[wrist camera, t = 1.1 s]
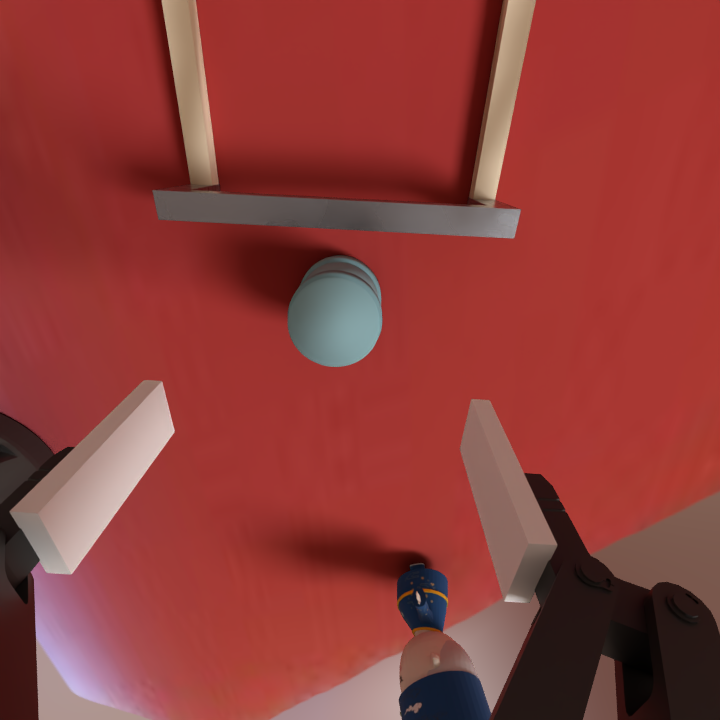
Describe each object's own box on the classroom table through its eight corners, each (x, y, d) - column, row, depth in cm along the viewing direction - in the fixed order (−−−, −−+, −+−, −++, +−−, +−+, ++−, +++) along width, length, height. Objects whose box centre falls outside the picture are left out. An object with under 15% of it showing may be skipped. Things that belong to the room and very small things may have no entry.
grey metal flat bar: (201, 206, 27) (158, 219, 22) (197, 183, 27) (152, 190, 21) (486, 221, 27) (514, 238, 22) (490, 198, 27) (521, 209, 21)
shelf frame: (201, 206, 27) (194, 208, 26) (134, -242, 18) (119, -267, 17) (485, 221, 27) (489, 224, 26) (573, -221, 18) (585, -245, 17)
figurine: (379, 541, 46) (384, 783, 28) (456, 528, 44) (511, 776, 26) (405, 599, 51) (421, 828, 34) (473, 589, 50) (527, 825, 32)
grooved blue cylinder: (303, 326, 32) (287, 366, 26) (301, 250, 29) (281, 276, 23) (377, 330, 32) (379, 371, 26) (383, 254, 29) (386, 281, 23)
